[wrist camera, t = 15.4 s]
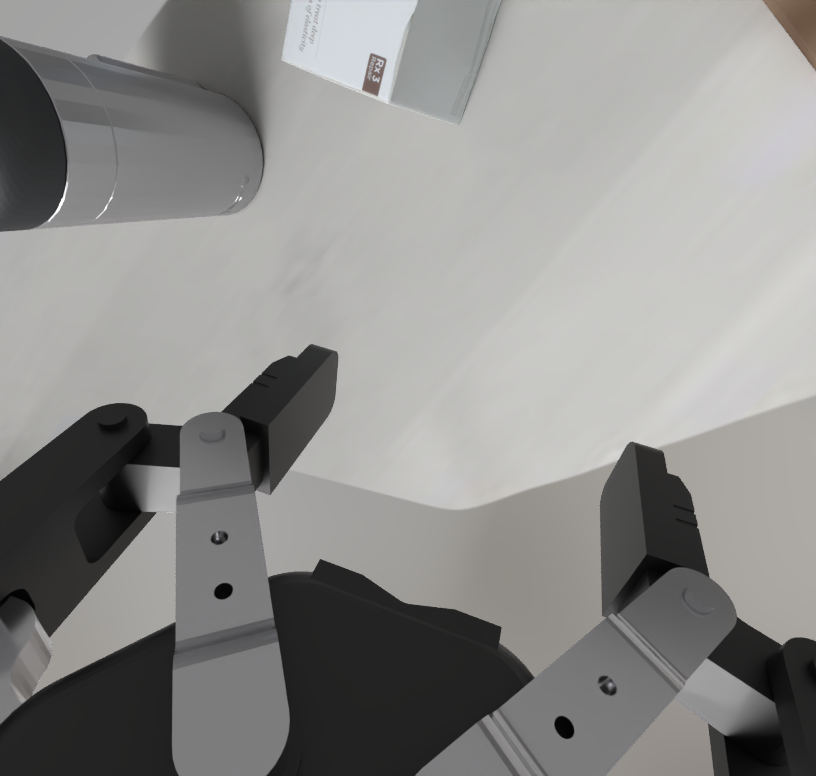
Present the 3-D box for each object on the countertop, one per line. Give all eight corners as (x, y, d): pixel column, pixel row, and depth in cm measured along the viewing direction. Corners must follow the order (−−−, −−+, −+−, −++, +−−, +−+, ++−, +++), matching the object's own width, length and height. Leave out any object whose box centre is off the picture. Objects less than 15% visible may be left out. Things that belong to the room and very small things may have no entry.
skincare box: (425, -37, 32) (314, -196, 19) (511, -7, 31) (459, -152, 18) (384, 105, 35) (268, 56, 22) (461, 135, 35) (387, 103, 22)
